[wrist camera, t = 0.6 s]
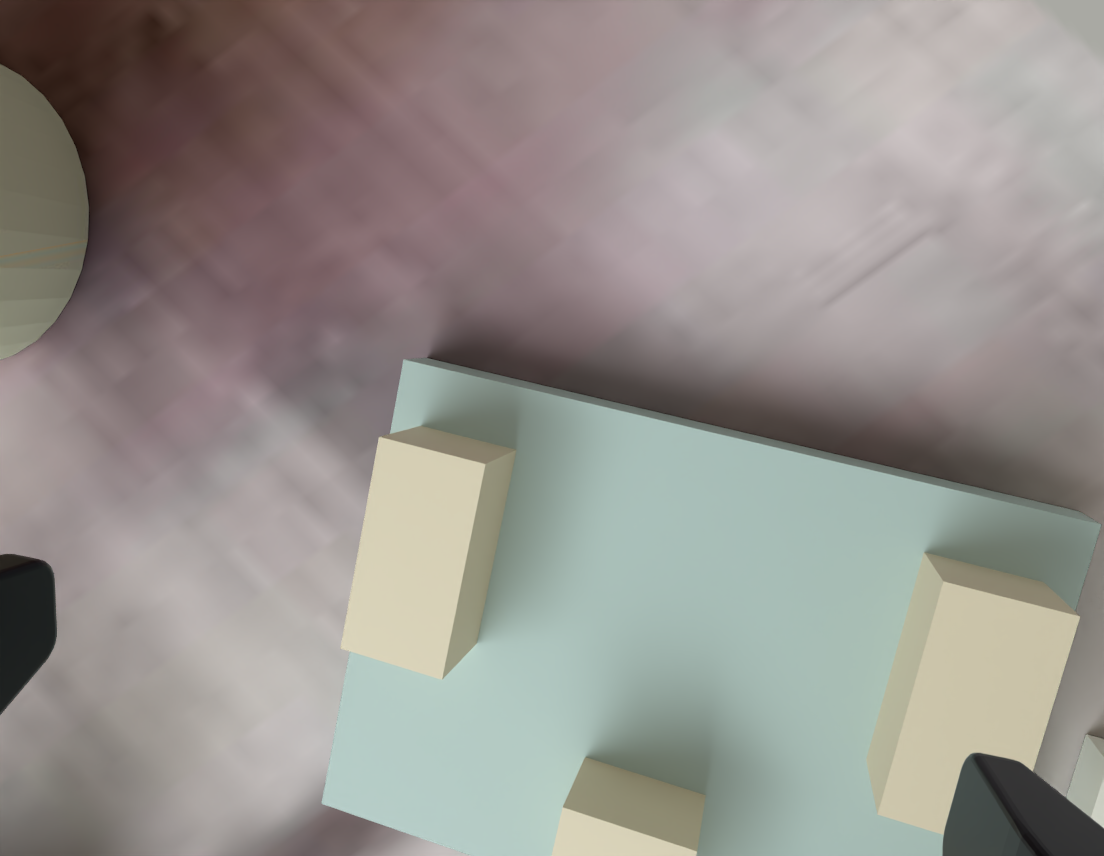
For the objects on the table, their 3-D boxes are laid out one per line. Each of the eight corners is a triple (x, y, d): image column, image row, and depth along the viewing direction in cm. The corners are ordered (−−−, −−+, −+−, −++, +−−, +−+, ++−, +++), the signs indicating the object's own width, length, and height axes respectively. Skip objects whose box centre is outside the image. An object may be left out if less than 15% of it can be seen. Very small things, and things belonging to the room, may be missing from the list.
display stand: (938, 978, 23) (971, 1109, 19) (346, 777, 26) (272, 854, 22) (1078, 511, 21) (1147, 551, 17) (425, 357, 24) (359, 362, 21)
